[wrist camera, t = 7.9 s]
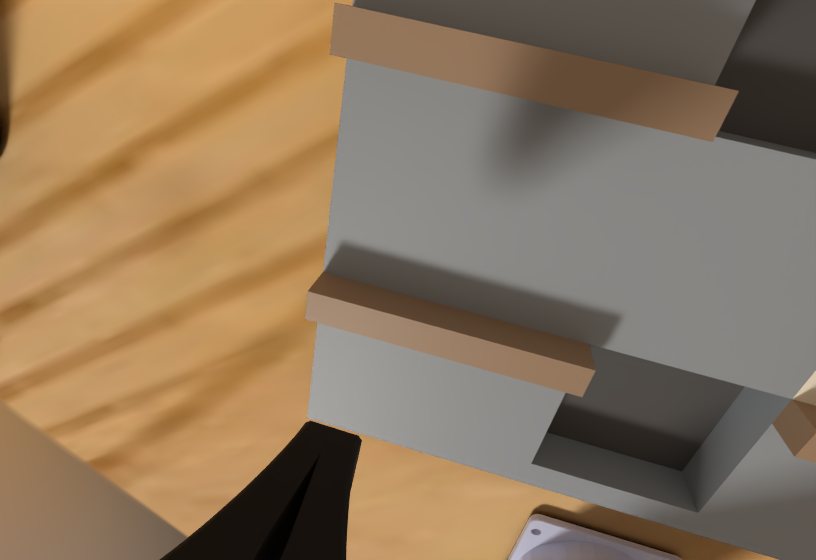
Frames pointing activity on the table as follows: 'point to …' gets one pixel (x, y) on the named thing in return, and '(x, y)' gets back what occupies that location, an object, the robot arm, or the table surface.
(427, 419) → the board
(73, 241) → the table surface
